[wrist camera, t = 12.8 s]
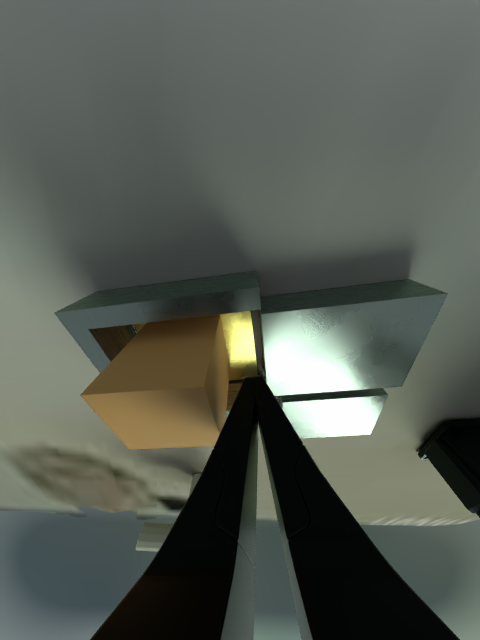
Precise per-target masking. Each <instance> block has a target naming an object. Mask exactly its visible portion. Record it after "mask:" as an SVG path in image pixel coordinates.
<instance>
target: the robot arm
mask: <svg viewBox="0 0 480 640" xmlns="http://www.w3.org/2000/svg"><path fill="white" fill-rule="evenodd" d="M258 423H259V429H260V434H261V439H262V444H263V449H264V454H265V459H266V464H267V469H268V474H269V479H270V484H271V489H272V494H273V499H274V504H275V509H276V514H277V519H278V524H279V528H280V534H281V539H282V543H283V549H284V554H285V559H286V564H287V567H288V573H289V579H290V584H291V588H292V594H293V599H294V604H295V608H296V614H297V619H298V624H299V628H300V634H301V638H302V640H460V639H459V638H458V637H457V636H456V635H455V634H454V633H453V632H452V631H451V630H450V629H449V628H448V627H447V625H446V624H445V623H444V622H443V621H442V620H441V619H440V618H439V617H438V616H437V615H436V614H435V613H434V612H433V611H432V610H431V609H430V608H429V606H428V605H427V604H426V603H425V602H424V601H423V600H422V599H421V598H420V597H419V596H418V595H417V594H416V593H415V592H414V591H413V590H412V589H411V587H409V585H408V584H407V583H406V582H405V581H404V580H403V579H402V578H401V577H400V576H399V574H397V572H396V571H395V570H394V569H393V567H392V566H391V565H390V564H389V563H388V561H387V560H386V559H385V558H384V556H383V555H382V554H381V553H380V551H379V550H378V549H377V548H376V546H375V545H374V544H373V542H372V541H371V540H370V539H369V537H368V536H367V534H366V533H365V532H364V530H363V529H362V528H361V526H360V525H359V523H358V522H357V521H356V519H355V518H354V517H353V515H352V514H351V513H350V511H349V510H348V509H347V507H346V506H345V505H344V503H343V502H342V500H341V499H340V498H339V496H338V495H337V494H336V492H335V491H334V490H333V488H332V487H331V485H330V484H329V483H328V481H327V480H326V478H325V477H324V475H323V474H322V473H321V471H320V470H319V468H318V466H317V465H316V463H315V462H314V460H313V459H312V457H311V455H310V454H309V452H308V450H307V449H306V447H305V446H304V445H303V442H302V441H301V439H300V437H299V436H298V434H297V432H296V431H295V429H294V427H293V426H292V424H291V423H290V421H289V419H288V418H287V416H286V414H285V413H284V411H283V409H282V408H281V406H280V404H279V403H278V401H277V399H276V398H275V396H274V394H273V393H272V391H271V389H270V388H269V386H268V384H267V383H266V381H265V379H264V378H263V376H255V377H252V376H251V377H245V379H244V381H243V383H242V385H241V387H240V390H239V392H238V394H237V396H236V399H235V401H234V403H233V405H232V408H231V410H230V412H229V414H228V417H227V419H226V421H225V423H224V426H223V428H222V430H221V432H220V435H219V437H218V439H217V441H216V444H215V446H214V449H213V450H212V452H211V455H210V457H209V459H208V461H207V463H206V465H205V467H204V470H203V472H202V474H201V476H200V478H199V480H198V482H197V483H196V485H195V487H194V489H193V491H192V493H191V495H190V496H189V498H188V500H187V502H186V503H185V505H184V507H183V509H182V511H181V512H180V514H179V516H178V518H177V519H176V521H175V523H174V525H173V527H172V528H171V530H170V532H169V534H168V535H167V537H166V539H165V541H164V542H163V544H162V546H161V548H160V549H159V551H158V553H157V554H156V556H155V557H154V559H153V560H152V562H151V563H150V565H149V566H148V568H147V569H146V571H145V572H144V573H143V575H142V576H141V577H140V579H139V580H138V581H137V582H136V584H135V585H134V586H133V587H132V589H131V590H130V591H129V592H128V593H127V595H126V596H125V597H124V599H123V600H122V601H121V602H120V603H119V605H118V606H117V607H116V609H115V610H114V611H113V612H112V613H111V615H110V616H109V617H108V618H107V619H106V621H105V622H104V623H103V624H102V626H101V627H100V628H99V629H98V630H97V632H96V633H95V634H94V635H93V637H92V638H91V639H90V640H253V631H254V629H253V628H254V590H255V586H254V585H255V568H254V567H255V547H256V545H255V544H256V505H257V464H258ZM418 455H419V457H420V458H421V460H430V462H431V463H432V464H433V466H434V467H435V468H436V469H437V471H438V472H439V473H440V475H441V476H442V477H443V478H444V480H445V481H446V482H447V484H448V485H449V486H450V488H451V489H452V490H453V491H454V493H455V494H456V495H457V497H458V498H459V499H460V500H461V502H462V503H463V504H464V506H465V507H466V508H467V509H468V510H469V511H470V512H472V513H476V514H477V515H478V516H479V518H480V419H479V420H461V421H448V422H445V423H443V424H441V426H440V427H439V428H438V429H437V431H436V432H435V433H434V434H433V436H432V437H431V438H430V439H429V441H428V442H427V443H426V444H425V446H424V447H423V448H422V449H421V451H420V452H419V453H418Z"/></svg>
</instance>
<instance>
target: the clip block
mask: <svg viewBox="0 0 480 640" xmlns="http://www.w3.org/2000/svg"><path fill="white" fill-rule="evenodd" d="M229 373H230V362H229V357H228V352H227V347H226V342H225V337H224V332H223V327H222V322H221V317H220V316H210V317H200V318H190V319H179V320H169V321H159V322H149V323H146V324H145V326H144V327H143V328H142V329H141V330H140V331H139V332H138V333H137V334H136V335H135V336H134V337H133V339H132V340H131V341H130V342H129V343H128V344H127V345H126V346H125V347H124V348H123V349H122V350H121V352H120V353H119V354H118V355H117V356H116V357H115V358H114V359H113V360H112V361H111V362H110V363H109V365H108V366H107V367H106V368H105V369H104V370H103V371H102V372H101V373H100V374H99V375H98V376H97V378H96V379H95V380H94V381H93V382H92V383H91V384H90V385H89V386H88V387H87V388H86V389H85V391H84V392H83V393H82V394H81V395H80V396H81V397H82V398H83V399H84V400H85V401H86V402H87V403H88V405H89V406H90V407H91V408H92V409H93V410H94V411H95V412H96V413H97V414H98V416H99V417H100V418H101V419H102V420H103V421H104V422H105V423H106V424H107V426H108V427H109V428H110V429H111V430H112V431H113V432H114V433H115V434H116V435H117V437H118V438H119V439H120V440H121V441H122V442H123V443H124V444H125V445H126V447H127V448H128V449H129V450H132V449H154V448H177V447H200V446H215V444H216V441H217V439H218V437H219V435H220V432H221V430H222V428H223V426H224V423H225V420H226V408H227V396H228V385H229Z"/></svg>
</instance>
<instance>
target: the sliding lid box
mask: <svg viewBox="0 0 480 640" xmlns="http://www.w3.org/2000/svg"><path fill="white" fill-rule="evenodd" d="M447 294H448V293H445V292H443V291H440V290H437V289H434V288H431V287H429V286H426V285H423V284H420V283H418V282H415V281H412V280H409V279H408V280H400V281H391V282H383V283H375V284H366V285H358V286H350V287H341V288H333V289H325V290H316V291H308V292H299V293H291V294H283V295H274V296H266V297H260V288H259V283H258V279H257V275H256V271H252V272H244V273H236V274H229V275H221V276H214V277H206V278H198V279H191V280H183V281H176V282H168V283H160V284H153V285H145V286H138V287H130V288H123V289H115V290H107V291H100V292H95V293H93V294H91V295H89V296H87V297H85V298H83V299H81V300H79V301H77V302H75V303H73V304H71V305H69V306H67V307H65V308H63V309H61V310H59V311H57V312H55V315H56V316H57V317H58V319H59V320H60V321H61V322H62V324H63V325H64V326H65V328H66V329H67V330H68V332H69V333H70V334H71V336H72V337H73V338H74V339H75V341H76V342H77V343H78V345H79V346H80V347H81V349H82V350H83V351H84V353H85V354H86V355H87V357H88V358H89V359H90V360H91V362H92V363H93V364H94V366H95V367H96V368H97V370H98V371H99V372H100V373H101V372H102V371H103V370H104V369H105V368H106V367H107V366H108V365H109V363H110V362H111V361H112V360H113V359H114V358H115V357H116V356H117V355H118V354H119V353H120V352H121V350H122V349H123V348H124V347H125V346H126V345H127V344H128V343H129V342H130V341H131V340H132V339H133V337H134V336H135V335H136V333H135V331H134V329H133V327H132V326H131V324H133V325H134V327H135V329H136V331H137V333H138V332H139V331H140V330H141V329H142V328H143V327H144V326H145V324H146V323H149V322H159V321H169V320H179V319H190V318H200V317H210V316H220V317H221V322H222V327H223V332H224V337H225V342H226V347H227V352H228V357H229V362H230V373H229V385H228V396H227V408H226V419H227V417H228V414H229V412H230V410H231V408H232V405H233V403H234V401H235V399H236V396H237V394H238V392H239V390H240V387H241V385H242V383H243V381H244V379H245V377H251V376H252V377H255V376H258V370H257V362H256V353H255V345H254V336H253V328H252V319H251V311H254V310H259V316H260V327H261V338H262V349H263V360H264V372H265V377H263V378H264V379H266V383H267V384H268V386H269V388H270V389H271V391H272V393H273V394H274V396H281V395H294V394H308V393H321V392H335V391H348V390H362V389H375V388H389V387H402V385H403V383H404V381H405V379H406V377H407V375H408V373H409V371H410V369H411V367H412V365H413V363H414V361H415V359H416V357H417V355H418V353H419V351H420V349H421V346H422V344H423V342H424V340H425V338H426V336H427V334H428V332H429V330H430V328H431V326H432V324H433V322H434V320H435V318H436V316H437V314H438V312H439V310H440V308H441V306H442V304H443V302H444V300H445V298H446V296H447ZM225 421H226V420H225Z"/></svg>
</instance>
